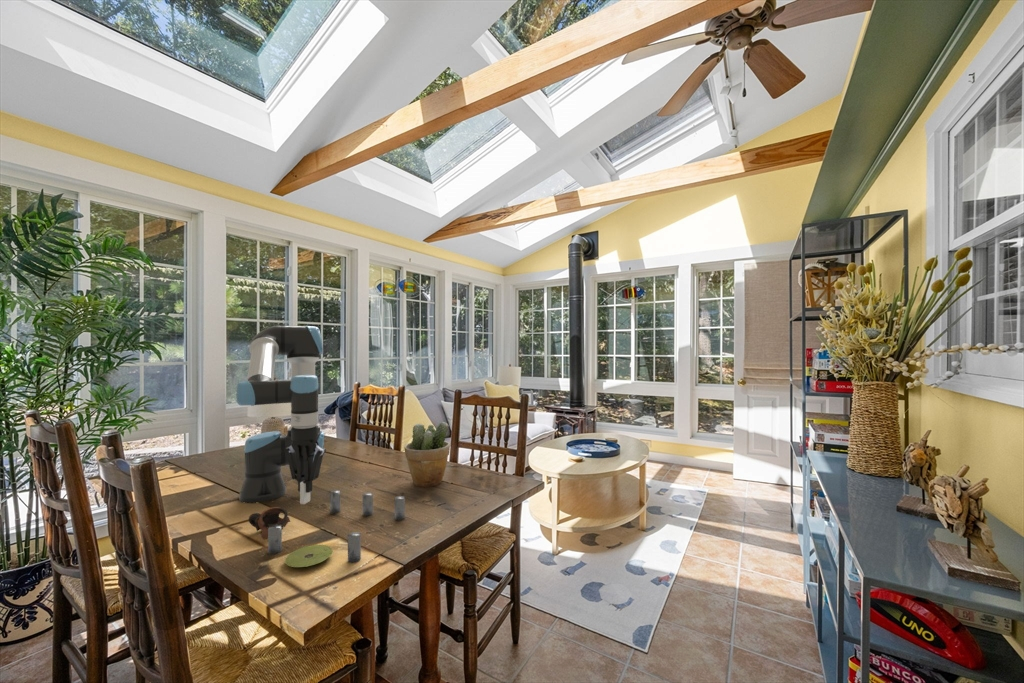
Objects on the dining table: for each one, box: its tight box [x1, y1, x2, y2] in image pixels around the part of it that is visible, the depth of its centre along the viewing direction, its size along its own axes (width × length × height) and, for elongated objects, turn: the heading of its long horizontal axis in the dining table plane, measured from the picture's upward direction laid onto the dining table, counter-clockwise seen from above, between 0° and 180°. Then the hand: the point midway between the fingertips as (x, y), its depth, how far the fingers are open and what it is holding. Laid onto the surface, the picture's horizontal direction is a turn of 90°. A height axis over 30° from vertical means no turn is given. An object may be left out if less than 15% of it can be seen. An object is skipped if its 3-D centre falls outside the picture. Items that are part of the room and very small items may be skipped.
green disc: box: [284, 544, 334, 568], centre depth 109 cm, size 11×11×2 cm
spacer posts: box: [267, 489, 406, 564], centre depth 125 cm, size 27×30×7 cm
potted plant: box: [403, 421, 451, 488], centre depth 169 cm, size 18×19×25 cm
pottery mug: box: [248, 506, 291, 540], centre depth 125 cm, size 12×9×8 cm
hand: (305, 502), depth 128 cm, fingers closed
